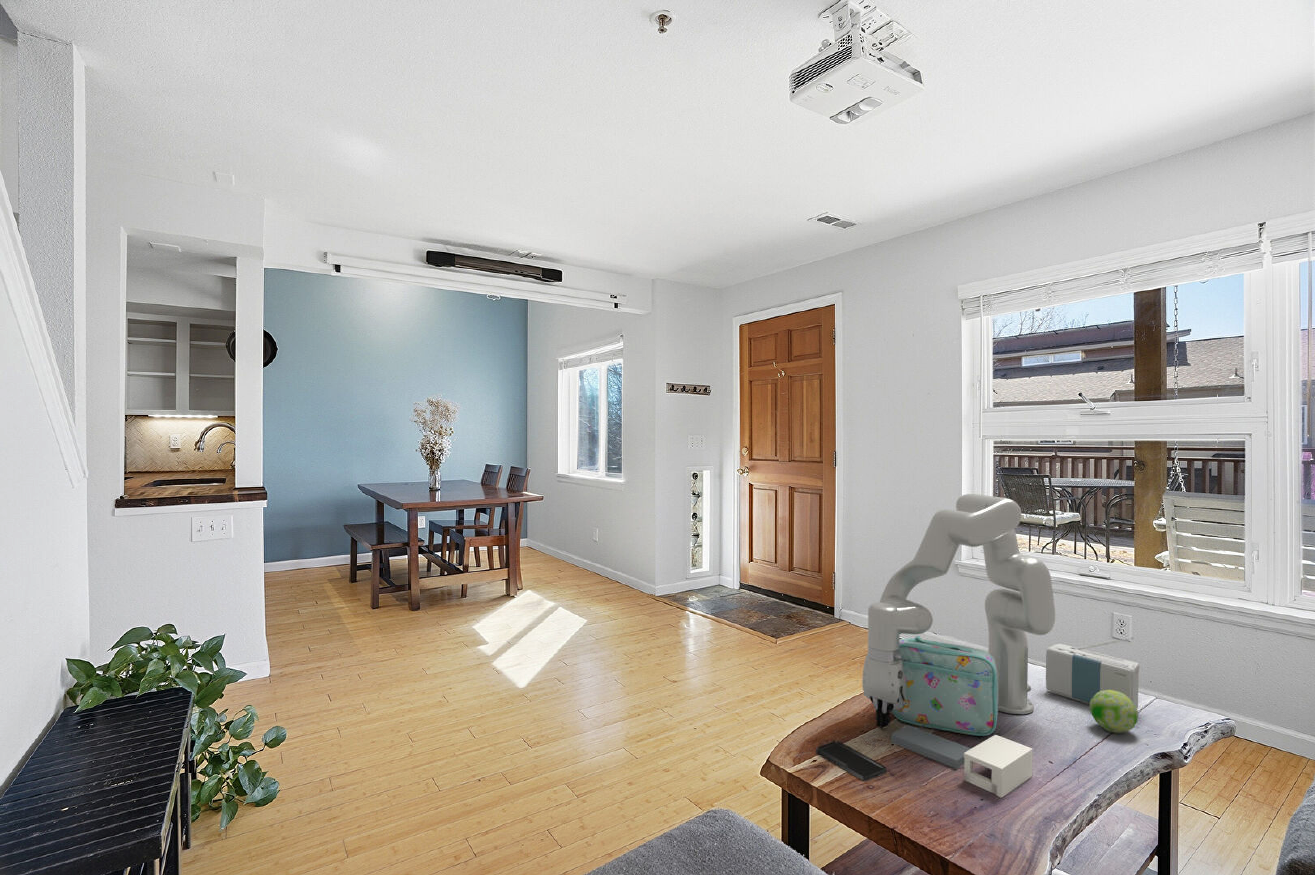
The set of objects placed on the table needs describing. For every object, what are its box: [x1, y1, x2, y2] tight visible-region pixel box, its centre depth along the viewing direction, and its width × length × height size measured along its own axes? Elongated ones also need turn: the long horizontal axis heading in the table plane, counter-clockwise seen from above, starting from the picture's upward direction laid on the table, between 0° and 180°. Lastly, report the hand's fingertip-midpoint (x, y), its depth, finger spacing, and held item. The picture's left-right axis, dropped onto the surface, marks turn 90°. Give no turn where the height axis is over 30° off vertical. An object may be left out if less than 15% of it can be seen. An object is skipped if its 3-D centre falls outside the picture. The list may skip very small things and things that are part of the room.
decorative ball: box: [1089, 690, 1139, 734], centre depth 162 cm, size 10×10×10 cm
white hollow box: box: [963, 734, 1034, 799], centre depth 140 cm, size 14×8×6 cm, turn 127°
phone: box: [815, 740, 888, 782], centre depth 146 cm, size 8×1×15 cm
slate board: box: [890, 724, 972, 770], centre depth 152 cm, size 8×16×2 cm, turn 40°
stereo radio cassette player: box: [1045, 636, 1141, 709], centre depth 179 cm, size 21×8×20 cm, turn 36°
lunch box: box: [890, 635, 999, 737], centre depth 165 cm, size 27×10×21 cm, turn 62°
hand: (882, 725), depth 162 cm, fingers closed
